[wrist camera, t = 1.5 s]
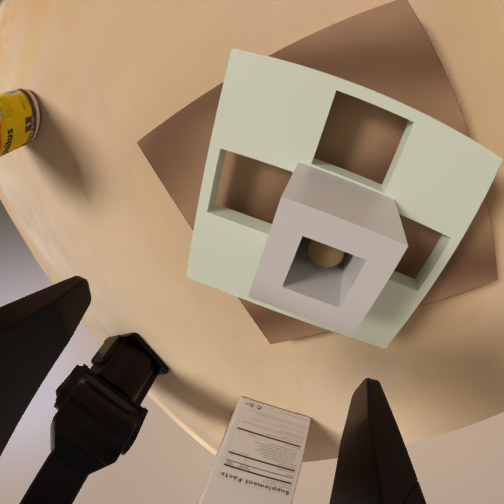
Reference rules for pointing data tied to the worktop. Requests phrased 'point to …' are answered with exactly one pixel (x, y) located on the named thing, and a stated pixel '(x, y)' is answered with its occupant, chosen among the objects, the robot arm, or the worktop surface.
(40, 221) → the worktop surface
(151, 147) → the walnut board
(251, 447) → the supplement box
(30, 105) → the supplement bottle
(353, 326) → the flange plate
